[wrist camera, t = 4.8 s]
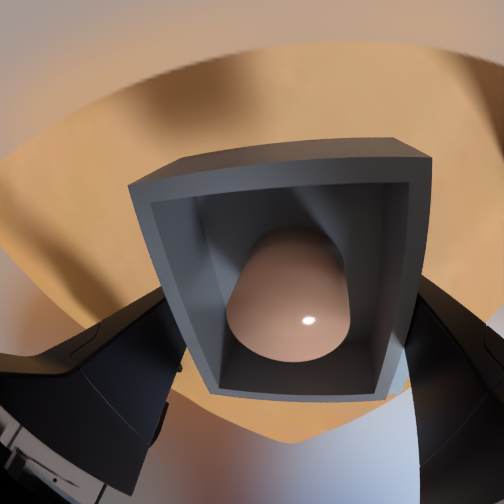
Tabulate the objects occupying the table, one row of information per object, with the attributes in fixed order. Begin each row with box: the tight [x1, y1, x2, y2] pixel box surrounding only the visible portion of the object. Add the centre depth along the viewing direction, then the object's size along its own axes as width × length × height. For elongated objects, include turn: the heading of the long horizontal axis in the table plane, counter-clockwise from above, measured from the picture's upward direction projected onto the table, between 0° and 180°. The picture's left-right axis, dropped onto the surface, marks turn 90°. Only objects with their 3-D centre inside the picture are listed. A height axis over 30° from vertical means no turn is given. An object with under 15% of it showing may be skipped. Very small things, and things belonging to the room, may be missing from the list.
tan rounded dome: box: [226, 226, 350, 362], centre depth 8 cm, size 3×3×2 cm
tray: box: [128, 138, 432, 402], centre depth 8 cm, size 6×8×3 cm
